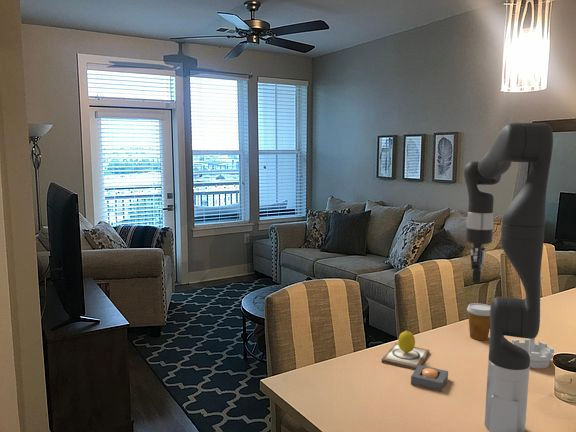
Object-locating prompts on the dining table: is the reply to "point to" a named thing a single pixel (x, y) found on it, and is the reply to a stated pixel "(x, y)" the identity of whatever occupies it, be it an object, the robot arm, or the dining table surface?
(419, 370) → the button housing
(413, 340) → the lemon
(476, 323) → the disposable coffee cup
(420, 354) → the drawing board
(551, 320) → the dining table surface
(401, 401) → the dining table surface
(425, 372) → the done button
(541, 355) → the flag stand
